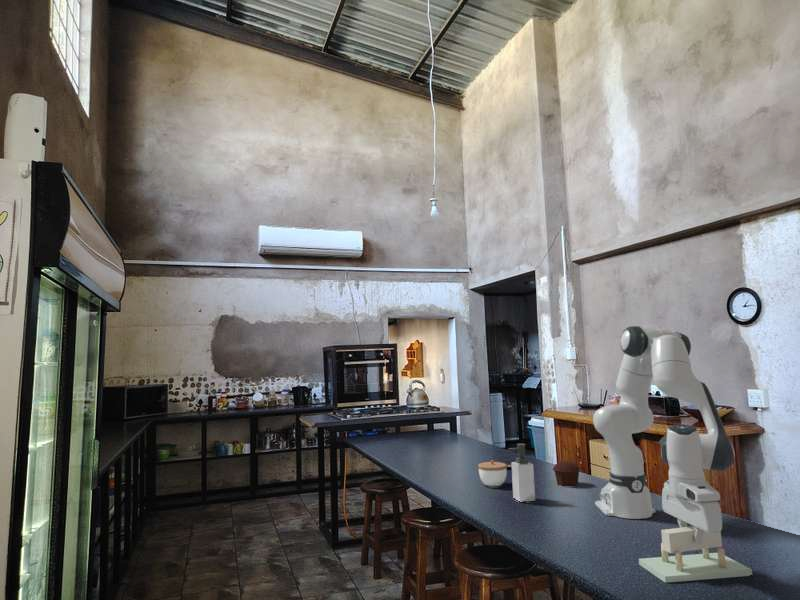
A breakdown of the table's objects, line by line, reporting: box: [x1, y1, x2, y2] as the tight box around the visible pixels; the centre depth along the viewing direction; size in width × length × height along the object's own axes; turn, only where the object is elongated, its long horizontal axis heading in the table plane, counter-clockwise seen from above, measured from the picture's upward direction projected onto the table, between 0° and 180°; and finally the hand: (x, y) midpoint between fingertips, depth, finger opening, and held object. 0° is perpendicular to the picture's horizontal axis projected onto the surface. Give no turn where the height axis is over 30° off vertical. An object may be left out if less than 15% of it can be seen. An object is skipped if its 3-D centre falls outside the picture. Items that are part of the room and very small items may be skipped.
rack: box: [638, 542, 753, 584], centre depth 142 cm, size 24×12×6 cm, turn 96°
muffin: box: [552, 460, 581, 487], centre depth 236 cm, size 12×11×10 cm
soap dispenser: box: [507, 443, 536, 502], centre depth 213 cm, size 6×9×22 cm
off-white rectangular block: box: [660, 525, 723, 554], centre depth 142 cm, size 16×3×5 cm, turn 103°
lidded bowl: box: [477, 459, 508, 487], centre depth 238 cm, size 13×13×11 cm
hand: (692, 539), depth 142 cm, fingers closed on off-white rectangular block, 3 cm apart
